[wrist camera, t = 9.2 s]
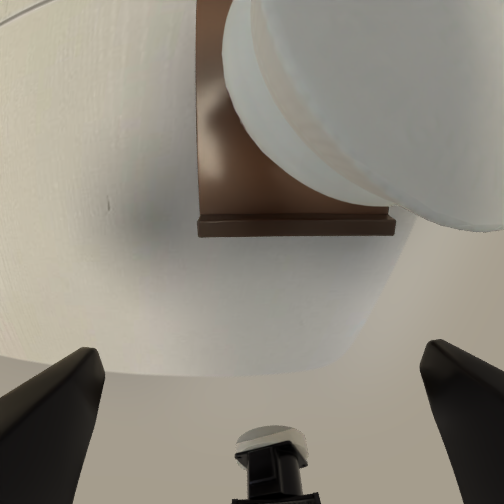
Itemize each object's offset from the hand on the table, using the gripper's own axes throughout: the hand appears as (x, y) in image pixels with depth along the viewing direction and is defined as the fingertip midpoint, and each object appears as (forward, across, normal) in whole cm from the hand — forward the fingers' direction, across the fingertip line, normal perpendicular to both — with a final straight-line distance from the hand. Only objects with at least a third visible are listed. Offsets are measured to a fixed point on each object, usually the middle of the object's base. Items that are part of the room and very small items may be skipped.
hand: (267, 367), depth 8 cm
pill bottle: (+8, -2, -7) cm, 11 cm away
